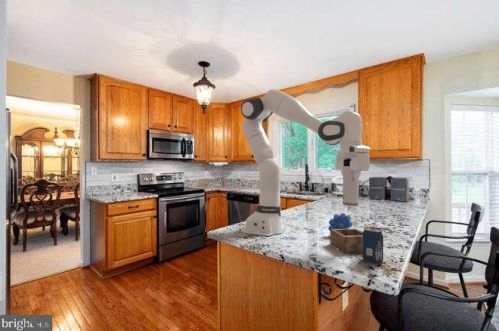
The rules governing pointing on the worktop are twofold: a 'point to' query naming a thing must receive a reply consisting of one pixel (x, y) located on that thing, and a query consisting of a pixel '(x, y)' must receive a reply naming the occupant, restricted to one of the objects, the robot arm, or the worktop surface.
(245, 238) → the worktop surface
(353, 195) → the travel mug
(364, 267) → the worktop surface
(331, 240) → the wooden cubby frame
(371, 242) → the soda can
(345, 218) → the grapes
